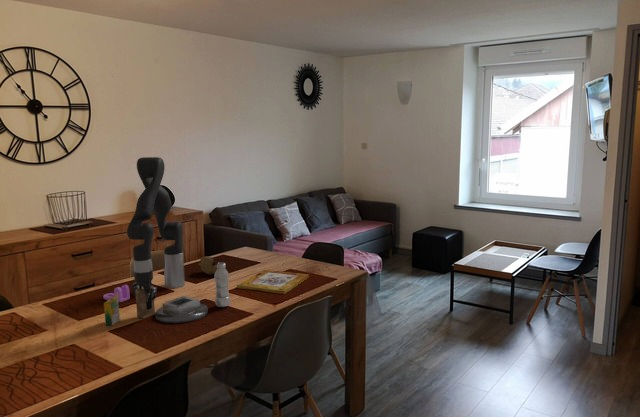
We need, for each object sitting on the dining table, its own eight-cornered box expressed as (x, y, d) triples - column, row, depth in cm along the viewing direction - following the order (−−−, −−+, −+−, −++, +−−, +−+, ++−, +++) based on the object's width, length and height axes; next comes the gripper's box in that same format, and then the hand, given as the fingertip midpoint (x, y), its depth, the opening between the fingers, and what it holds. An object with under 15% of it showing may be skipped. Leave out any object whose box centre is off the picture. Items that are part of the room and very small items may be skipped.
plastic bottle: (232, 304, 225) (231, 262, 222) (225, 309, 219) (223, 265, 216) (220, 303, 227) (218, 261, 224) (212, 308, 221) (210, 264, 218)
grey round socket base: (144, 317, 211) (143, 304, 210) (183, 302, 229) (182, 290, 228) (180, 327, 199) (179, 314, 198) (218, 310, 218) (217, 298, 217)
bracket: (129, 299, 235) (128, 284, 233) (120, 302, 230) (119, 288, 228) (110, 295, 240) (109, 281, 239) (100, 298, 235) (99, 284, 234)
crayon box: (113, 319, 208) (111, 293, 206) (120, 319, 208) (118, 293, 206) (105, 326, 201) (103, 298, 199) (112, 326, 201) (110, 298, 199)
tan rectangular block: (137, 316, 210) (135, 289, 208) (148, 312, 215) (147, 285, 213) (143, 318, 208) (141, 291, 206) (154, 313, 213) (153, 287, 211)
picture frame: (309, 274, 267) (284, 290, 239) (309, 278, 267) (284, 295, 240) (265, 269, 277) (236, 284, 249) (265, 273, 277) (236, 288, 250)
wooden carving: (223, 274, 273) (223, 257, 272) (217, 276, 269) (217, 259, 268) (202, 270, 282) (201, 253, 280) (196, 272, 278) (195, 255, 276)
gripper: (124, 269, 209) (127, 307, 212) (147, 274, 201) (149, 314, 204) (139, 265, 215) (142, 302, 218) (161, 269, 208) (164, 308, 210)
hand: (145, 308), depth 211 cm, fingers closed on tan rectangular block, 4 cm apart
